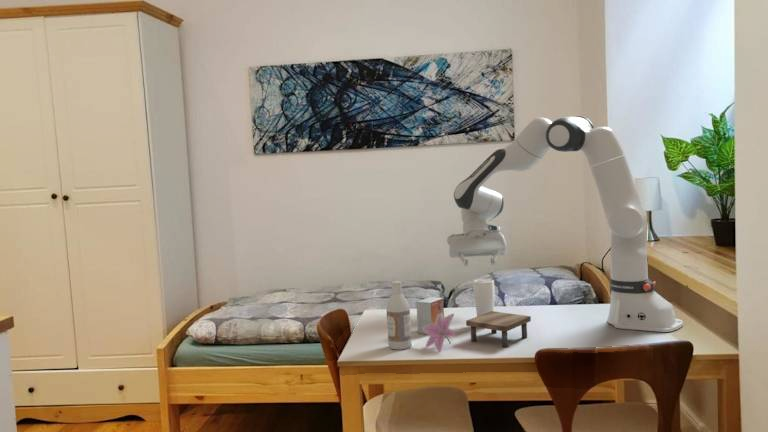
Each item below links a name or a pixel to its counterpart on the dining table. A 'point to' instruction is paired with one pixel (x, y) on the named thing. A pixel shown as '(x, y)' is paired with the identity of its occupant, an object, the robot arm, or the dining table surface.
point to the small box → (429, 311)
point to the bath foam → (398, 319)
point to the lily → (439, 331)
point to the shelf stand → (498, 324)
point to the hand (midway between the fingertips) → (479, 264)
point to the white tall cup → (484, 295)
